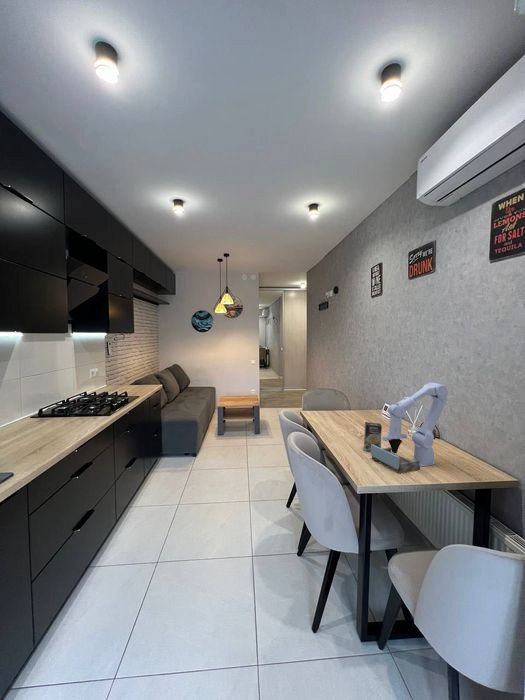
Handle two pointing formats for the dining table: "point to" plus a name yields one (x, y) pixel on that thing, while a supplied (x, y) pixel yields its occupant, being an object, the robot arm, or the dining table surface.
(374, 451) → the bar
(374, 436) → the coffee box
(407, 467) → the flatbed
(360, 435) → the dining table surface
